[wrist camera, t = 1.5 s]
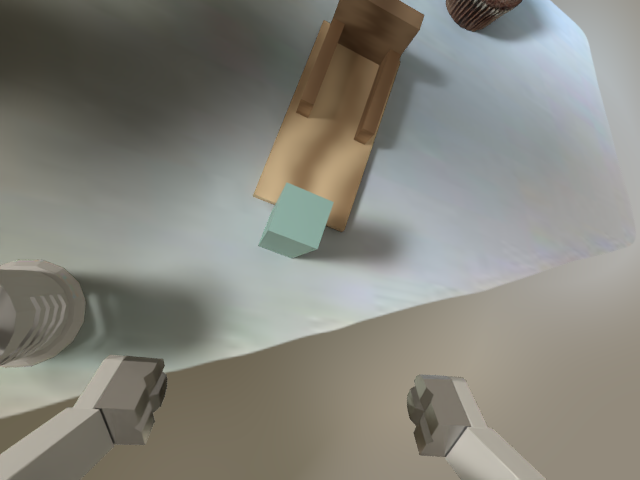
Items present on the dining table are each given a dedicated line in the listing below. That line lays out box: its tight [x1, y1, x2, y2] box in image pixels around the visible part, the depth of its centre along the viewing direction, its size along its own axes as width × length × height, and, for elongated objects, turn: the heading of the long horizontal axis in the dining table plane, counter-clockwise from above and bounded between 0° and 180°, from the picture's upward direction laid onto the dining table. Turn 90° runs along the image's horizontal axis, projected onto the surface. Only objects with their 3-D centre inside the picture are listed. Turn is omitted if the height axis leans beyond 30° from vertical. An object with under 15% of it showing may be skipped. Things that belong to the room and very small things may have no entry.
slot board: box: [253, 0, 424, 232], centre depth 35 cm, size 11×24×8 cm, turn 160°
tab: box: [258, 183, 334, 258], centre depth 30 cm, size 4×4×12 cm
